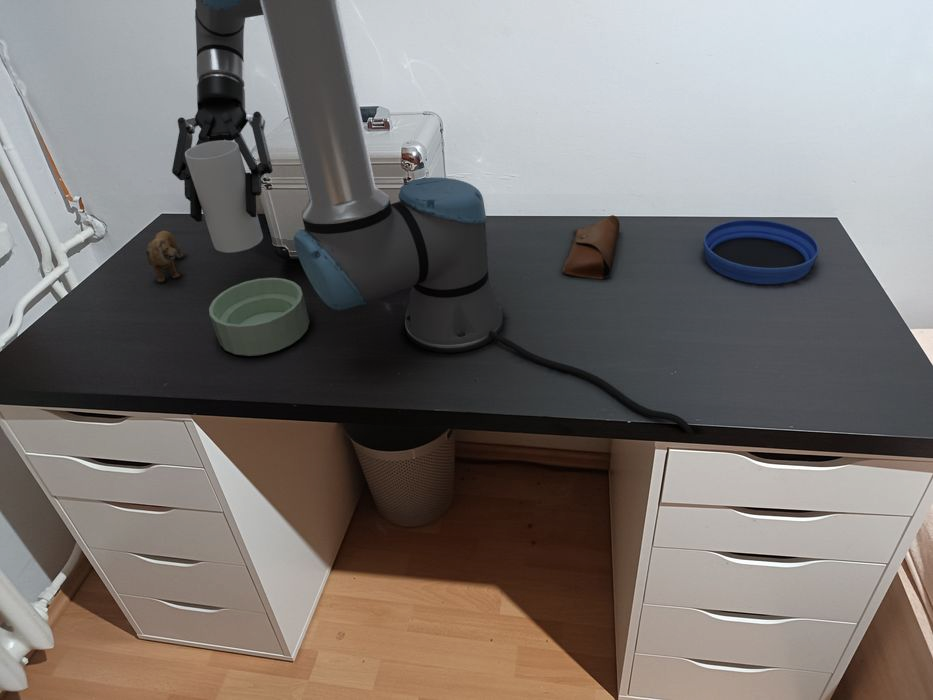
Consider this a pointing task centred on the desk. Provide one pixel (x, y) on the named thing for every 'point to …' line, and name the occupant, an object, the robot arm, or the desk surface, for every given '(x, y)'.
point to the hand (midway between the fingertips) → (223, 216)
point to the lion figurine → (163, 253)
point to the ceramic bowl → (259, 316)
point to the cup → (223, 195)
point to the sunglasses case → (593, 249)
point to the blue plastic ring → (760, 251)
